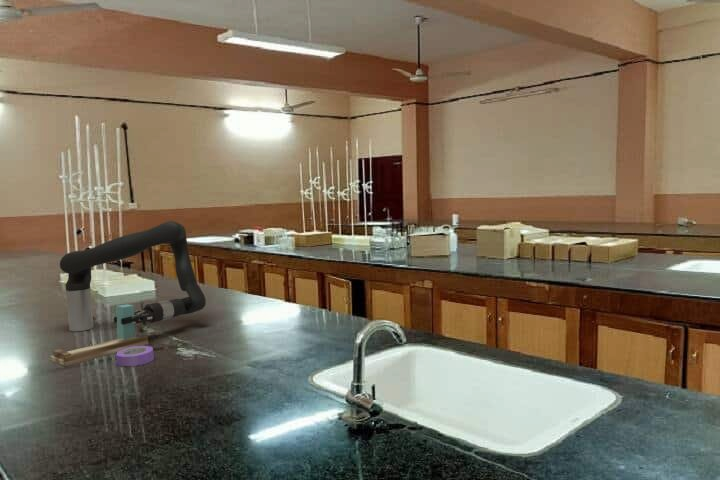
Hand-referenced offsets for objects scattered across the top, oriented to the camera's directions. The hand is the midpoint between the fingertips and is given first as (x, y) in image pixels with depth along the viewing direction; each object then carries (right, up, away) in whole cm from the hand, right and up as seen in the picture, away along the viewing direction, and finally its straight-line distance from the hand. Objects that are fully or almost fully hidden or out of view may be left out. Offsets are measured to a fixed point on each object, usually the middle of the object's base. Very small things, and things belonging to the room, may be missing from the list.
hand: (118, 320), depth 200 cm
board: (-4, -11, -5) cm, 12 cm away
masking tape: (+13, -12, -16) cm, 24 cm away
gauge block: (+2, -7, +3) cm, 7 cm away
